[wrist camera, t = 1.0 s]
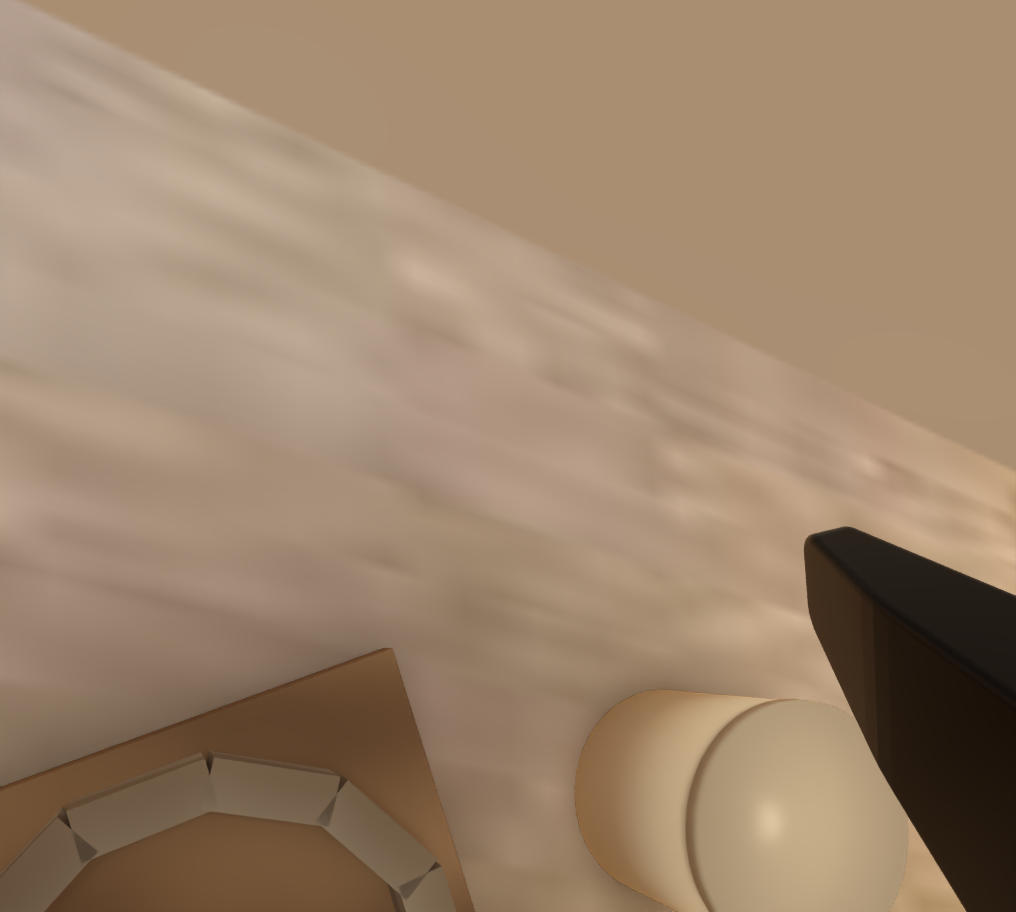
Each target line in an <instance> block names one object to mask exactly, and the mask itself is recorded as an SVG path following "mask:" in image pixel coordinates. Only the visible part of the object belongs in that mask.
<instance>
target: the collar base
mask: <svg viewBox="0 0 1016 912" xmlns="http://www.w3.org/2000/svg"><path fill="white" fill-rule="evenodd" d="M0 912H475V911H474V908H473V904H472V901H471V898H470V895H469V892H468V888H467V885H466V882H465V879H464V876H463V873H462V869H461V866H460V863H459V860H458V857H457V853H456V850H455V847H454V844H453V841H452V837H451V834H450V831H449V828H448V825H447V821H446V818H445V815H444V812H443V809H442V805H441V802H440V799H439V796H438V793H437V789H436V786H435V783H434V780H433V777H432V773H431V770H430V767H429V764H428V761H427V757H426V754H425V751H424V748H423V745H422V741H421V738H420V735H419V732H418V729H417V726H416V722H415V719H414V716H413V713H412V710H411V706H410V703H409V700H408V697H407V694H406V690H405V687H404V684H403V681H402V678H401V674H400V671H399V668H398V665H397V662H396V658H395V655H394V652H393V649H392V648H383V649H380V650H377V651H375V652H372V653H369V654H366V655H364V656H361V657H358V658H355V659H353V660H350V661H347V662H344V663H342V664H339V665H336V666H333V667H331V668H328V669H325V670H322V671H319V672H317V673H314V674H311V675H308V676H306V677H303V678H300V679H297V680H295V681H292V682H289V683H286V684H284V685H281V686H278V687H275V688H273V689H270V690H267V691H264V692H262V693H259V694H256V695H253V696H251V697H248V698H245V699H242V700H240V701H237V702H234V703H231V704H229V705H226V706H223V707H220V708H218V709H215V710H212V711H209V712H206V713H204V714H201V715H198V716H195V717H193V718H190V719H187V720H184V721H182V722H179V723H176V724H173V725H171V726H168V727H165V728H162V729H160V730H157V731H154V732H151V733H149V734H146V735H143V736H140V737H138V738H135V739H132V740H129V741H127V742H124V743H121V744H118V745H116V746H113V747H110V748H107V749H105V750H102V751H99V752H96V753H93V754H91V755H88V756H85V757H82V758H80V759H77V760H74V761H71V762H69V763H66V764H63V765H60V766H58V767H55V768H52V769H49V770H47V771H44V772H41V773H38V774H36V775H33V776H30V777H27V778H25V779H22V780H19V781H16V782H14V783H11V784H8V785H5V786H3V787H0Z"/></svg>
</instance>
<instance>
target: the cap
mask: <svg viewBox="0 0 1016 912" xmlns="http://www.w3.org/2000/svg"><path fill="white" fill-rule="evenodd" d="M575 807H576V814H577V819H578V823H579V827H580V830H581V833H582V835H583V838H584V841H585V843H586V845H587V847H588V848H589V850H590V852H591V854H592V855H593V857H594V858H595V859H596V861H597V862H598V864H599V865H600V866H601V867H602V868H603V869H604V870H605V871H606V872H607V873H608V874H609V875H611V876H612V877H613V878H614V879H616V880H617V881H619V882H620V883H622V884H624V885H626V886H627V887H629V888H631V889H633V890H635V891H637V892H639V893H641V894H643V895H645V896H647V897H649V898H651V899H653V900H655V901H657V902H659V903H661V904H663V905H665V906H667V907H670V908H672V909H674V910H676V911H678V912H889V911H890V910H891V908H892V905H893V903H894V901H895V899H896V897H897V895H898V892H899V889H900V886H901V883H902V880H903V875H904V871H905V866H906V861H907V853H908V832H909V829H908V816H907V814H906V812H905V811H904V809H903V808H902V806H901V804H900V803H899V801H898V799H897V798H896V796H895V795H894V793H893V791H892V790H891V788H890V786H889V784H888V783H887V781H886V779H885V777H884V776H883V774H882V772H881V770H880V769H879V767H878V765H877V763H876V761H875V759H874V757H873V755H872V753H871V751H870V749H869V746H868V744H867V742H866V740H865V738H864V736H863V734H862V731H861V729H860V727H859V725H858V723H857V721H856V719H855V717H853V716H852V715H850V714H849V713H847V712H846V711H843V710H841V709H839V708H837V707H835V706H833V705H829V704H826V703H822V702H817V701H809V700H799V699H778V700H776V699H764V698H753V697H742V696H731V695H719V694H708V693H697V692H685V691H674V690H651V691H646V692H642V693H639V694H636V695H633V696H631V697H629V698H627V699H625V700H623V701H621V702H620V703H619V704H617V705H616V706H614V707H613V708H612V709H611V710H610V711H609V712H607V713H606V714H605V715H604V716H603V717H602V719H601V720H600V721H599V722H598V724H597V725H596V726H595V728H594V729H593V731H592V732H591V734H590V736H589V737H588V739H587V742H586V744H585V746H584V748H583V750H582V753H581V756H580V759H579V763H578V768H577V772H576V780H575Z"/></svg>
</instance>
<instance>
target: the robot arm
mask: <svg viewBox="0 0 1016 912" xmlns="http://www.w3.org/2000/svg"><path fill="white" fill-rule="evenodd" d="M804 560H805V573H806V586H807V599H808V609H809V614H810V618H811V621H812V624H813V627H814V630H815V632H816V634H817V636H818V639H819V641H820V643H821V645H822V647H823V649H824V652H825V654H826V656H827V658H828V660H829V662H830V665H831V667H832V669H833V671H834V673H835V675H836V678H837V680H838V682H839V684H840V686H841V688H842V690H843V693H844V695H845V697H846V699H847V701H848V703H849V706H850V708H851V710H852V712H853V714H854V716H855V719H856V721H857V723H858V725H859V727H860V729H861V731H862V734H863V736H864V738H865V740H866V742H867V744H868V746H869V749H870V751H871V753H872V755H873V757H874V759H875V761H876V763H877V765H878V767H879V769H880V770H881V772H882V774H883V776H884V777H885V779H886V781H887V783H888V784H889V786H890V788H891V790H892V791H893V793H894V795H895V796H896V798H897V799H898V801H899V803H900V804H901V806H902V808H903V809H904V811H905V812H906V814H907V816H908V817H909V819H910V821H911V822H912V824H913V825H914V827H915V829H916V830H917V832H918V834H919V835H920V837H921V838H922V840H923V842H924V843H925V845H926V847H927V848H928V850H929V851H930V853H931V855H932V856H933V858H934V860H935V861H936V863H937V864H938V866H939V868H940V869H941V871H942V873H943V874H944V876H945V878H946V879H947V881H948V882H949V884H950V886H951V887H952V889H953V891H954V892H955V894H956V895H957V897H958V899H959V900H960V902H961V904H962V905H963V907H964V908H965V910H966V912H1016V596H1015V595H1013V594H1011V593H1008V592H1006V591H1003V590H1001V589H999V588H996V587H994V586H992V585H989V584H987V583H984V582H982V581H980V580H977V579H975V578H972V577H970V576H968V575H965V574H963V573H960V572H958V571H956V570H953V569H951V568H948V567H946V566H944V565H941V564H939V563H937V562H934V561H932V560H929V559H927V558H925V557H922V556H920V555H917V554H915V553H913V552H910V551H908V550H905V549H903V548H901V547H898V546H896V545H894V544H891V543H889V542H886V541H884V540H882V539H879V538H877V537H874V536H872V535H870V534H867V533H865V532H862V531H860V530H858V529H855V528H852V527H840V528H836V529H832V530H828V531H823V532H819V533H815V534H812V535H809V536H808V538H807V539H806V540H805V544H804Z"/></svg>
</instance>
